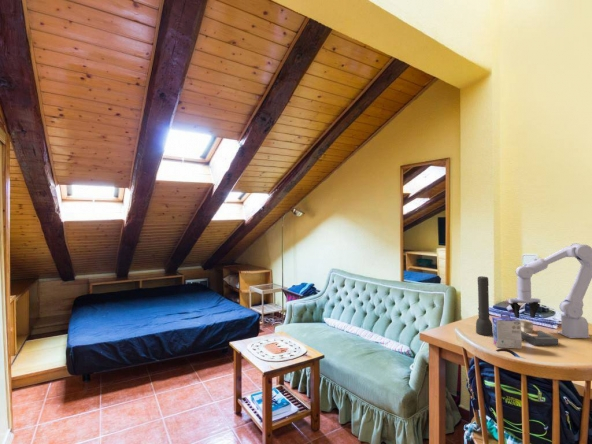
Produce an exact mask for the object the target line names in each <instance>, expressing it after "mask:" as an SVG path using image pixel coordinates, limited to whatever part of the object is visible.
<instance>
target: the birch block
mask: <svg viewBox="0 0 592 444" xmlns="http://www.w3.org/2000/svg"><path fill="white" fill-rule="evenodd" d="M519 320H520V321H521V331H523V332H528V333H533V332H534V330H533V329H534V325H533V324H534V323H533V321H531V320H527V319H519Z"/></svg>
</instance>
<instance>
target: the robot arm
mask: <svg viewBox="0 0 592 444" xmlns="http://www.w3.org/2000/svg"><path fill="white" fill-rule="evenodd" d="M564 258H575V259H577V261H578V263H579V264H580V268H579V269H578V271H577V274H576V277H575V279H574V282H573V283H572V286H571V289H570V291H569V293H568V294H567V296H565V297H564V299H563V301H560V303H559V305H558V306H559V310H560V311H561V314H560V317H561V318H560V320H561V324H560V325H561V331H560V330H559V331H558V330H557V331H556V333H557V334H559V335H563V336H564V337H567V338H570V339H581V338H582V339H585V338H586V339H590V338H591V336H590V335H589V322H588V320H587V318H585V317H583V315H584V311H583V309H584V297H585V296H586V292H587V290H588V288H589V286H590V284H591V281H592V247H591V246H590V245H587V244H583V243H582V244H581V243H572V244H570V245H567V246H565V247H563V248H561V249H560V250H557V251H556V252H554V253H551V254H550V255H548V256H546V257H545V258H542V257H541V258H540V257H538V258H537V257H535V258H533V259H532V261H530V262H528V263H524V264H523V265H520V266H518V267H517V268H516V269H515V274H516V279H517V280H516V290H517V291H516V295H517V296H516V297H513V298H508V303H509V305H510V307H511V309H512V312H513V314H514V318H517V319H520V309H521V306H522V305H520V304H528V307H529V317H530V318H533V319H535V317H536V314H537V311H538V309H540V307H541V299H540V298H535V297H534V298H533V297H532V280H531V278H532V276H533V275H536V274H538V273H539V272H542V271H544V270H547V268H548V266H549V265H550V264H552V263H556V262H557V261H559V260H562V259H564Z"/></svg>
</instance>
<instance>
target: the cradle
mask: <svg viewBox="0 0 592 444" xmlns="http://www.w3.org/2000/svg"><path fill="white" fill-rule="evenodd" d="M522 339H523V340H522ZM521 340H522V341H524V340H525V342H527V343H529V344H531V345H532V346H535V347H539V346H540V347H545V346H546V347H548V346H549V347H551V346H552V347H553V346H559V338H558V337H556V336H554V335H551V334H549V333H547V332H545V331H542V330H537V335H531V334H529V333H525V332H523V331H521Z"/></svg>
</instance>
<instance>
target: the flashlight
mask: <svg viewBox="0 0 592 444" xmlns="http://www.w3.org/2000/svg"><path fill="white" fill-rule="evenodd" d="M489 286H490V285H489V277H487V276H478V277H477V298H478V301H477V303H478V308H477V309H478V317H477V319H476V323H475V334H477V335H480V336H484V337H492V336H493V321H491V319H490V302H489V301H490V300H489V298H490V297H489V293H490V292H489Z"/></svg>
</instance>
